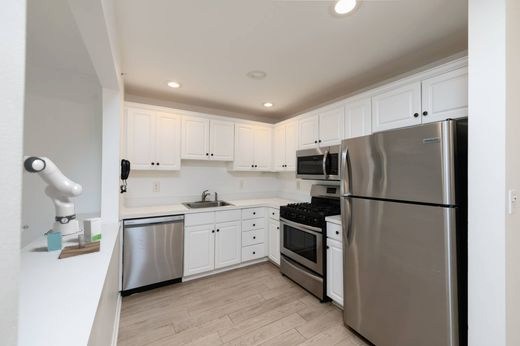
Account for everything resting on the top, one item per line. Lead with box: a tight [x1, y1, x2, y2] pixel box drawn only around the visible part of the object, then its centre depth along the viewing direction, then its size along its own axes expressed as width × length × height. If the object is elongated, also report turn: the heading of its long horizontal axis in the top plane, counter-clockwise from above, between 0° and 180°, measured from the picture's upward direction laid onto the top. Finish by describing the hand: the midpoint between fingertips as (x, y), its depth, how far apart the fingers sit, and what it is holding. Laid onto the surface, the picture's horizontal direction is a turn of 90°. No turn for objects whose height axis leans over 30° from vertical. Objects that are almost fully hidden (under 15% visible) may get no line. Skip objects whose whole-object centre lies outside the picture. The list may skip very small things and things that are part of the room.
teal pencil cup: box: [46, 231, 64, 252], centre depth 140 cm, size 6×6×10 cm
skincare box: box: [83, 217, 103, 243], centre depth 154 cm, size 8×7×16 cm
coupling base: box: [59, 233, 101, 260], centre depth 138 cm, size 18×18×10 cm
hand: (26, 228), depth 133 cm, fingers open, 8 cm apart
